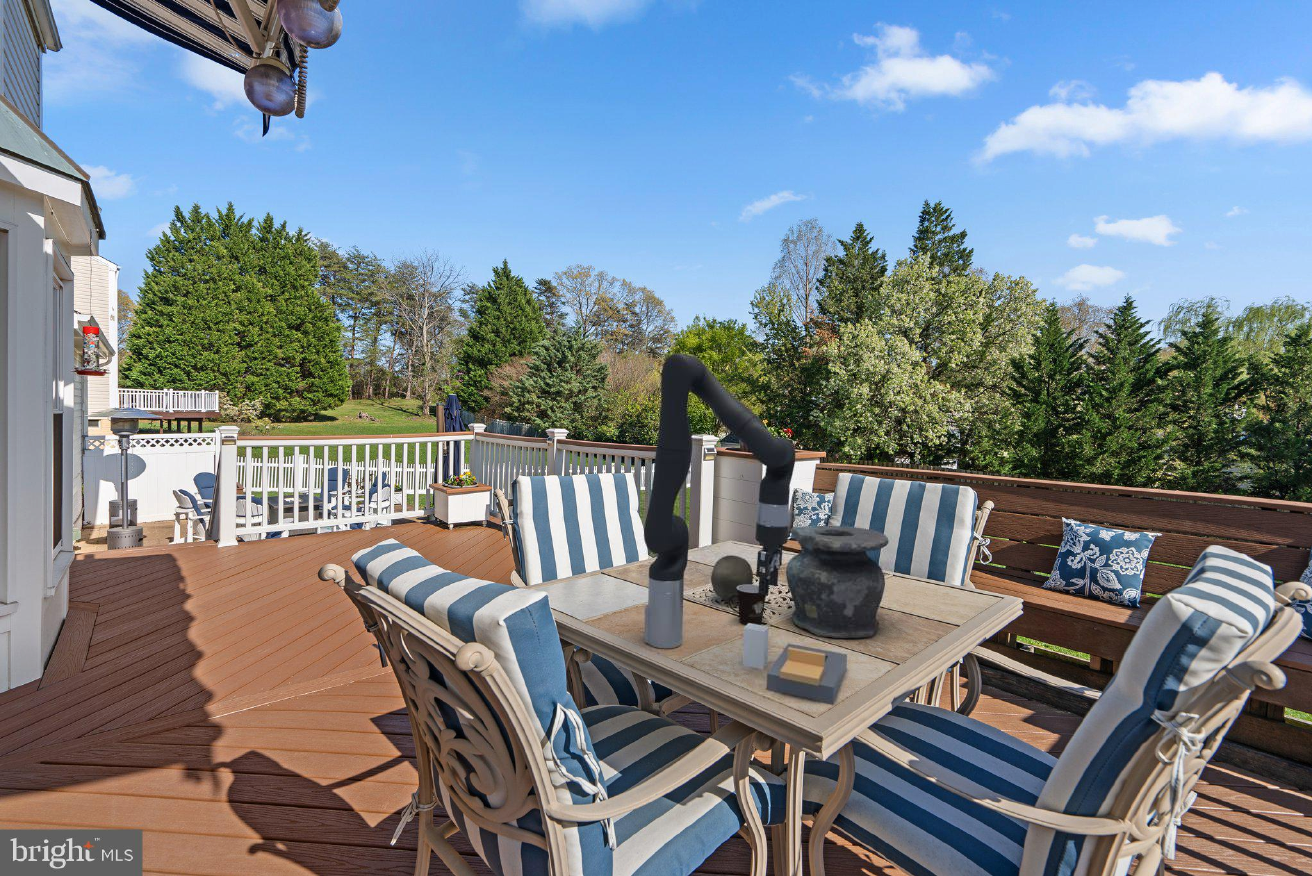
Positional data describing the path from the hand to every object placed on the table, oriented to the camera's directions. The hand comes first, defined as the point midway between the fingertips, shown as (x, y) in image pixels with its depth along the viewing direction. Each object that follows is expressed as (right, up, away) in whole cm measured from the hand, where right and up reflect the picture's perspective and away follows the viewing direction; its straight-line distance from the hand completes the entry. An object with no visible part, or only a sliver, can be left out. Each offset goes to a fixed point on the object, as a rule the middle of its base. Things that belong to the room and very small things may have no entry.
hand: (768, 589), depth 137 cm
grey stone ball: (-2, -18, +52) cm, 55 cm away
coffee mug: (0, -18, +32) cm, 37 cm away
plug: (-3, -19, +2) cm, 19 cm away
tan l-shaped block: (+5, -15, -12) cm, 20 cm away
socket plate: (+8, -19, -5) cm, 21 cm away
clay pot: (+25, -19, +32) cm, 45 cm away
